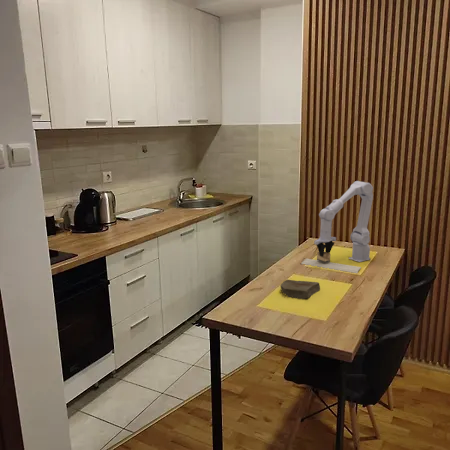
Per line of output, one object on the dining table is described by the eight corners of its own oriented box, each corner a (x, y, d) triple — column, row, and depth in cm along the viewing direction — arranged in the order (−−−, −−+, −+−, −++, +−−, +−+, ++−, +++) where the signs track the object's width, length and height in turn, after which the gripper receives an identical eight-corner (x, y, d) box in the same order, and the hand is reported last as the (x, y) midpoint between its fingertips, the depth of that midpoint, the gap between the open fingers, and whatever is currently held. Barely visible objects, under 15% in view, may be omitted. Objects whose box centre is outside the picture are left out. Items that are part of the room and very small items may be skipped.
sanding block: (322, 258, 235) (322, 251, 234) (330, 261, 230) (330, 253, 229) (316, 260, 233) (317, 252, 232) (324, 262, 228) (325, 254, 227)
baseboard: (356, 275, 216) (360, 269, 224) (356, 270, 215) (361, 264, 223) (300, 265, 230) (306, 260, 239) (300, 260, 230) (306, 256, 238)
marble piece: (320, 289, 196) (320, 281, 195) (315, 301, 183) (315, 292, 182) (284, 285, 202) (285, 276, 201) (277, 296, 189) (277, 287, 188)
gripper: (329, 227, 235) (328, 251, 238) (310, 231, 227) (309, 255, 230) (339, 230, 229) (338, 254, 232) (320, 234, 221) (318, 258, 224)
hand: (324, 255), depth 231 cm, fingers closed on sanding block, 4 cm apart
